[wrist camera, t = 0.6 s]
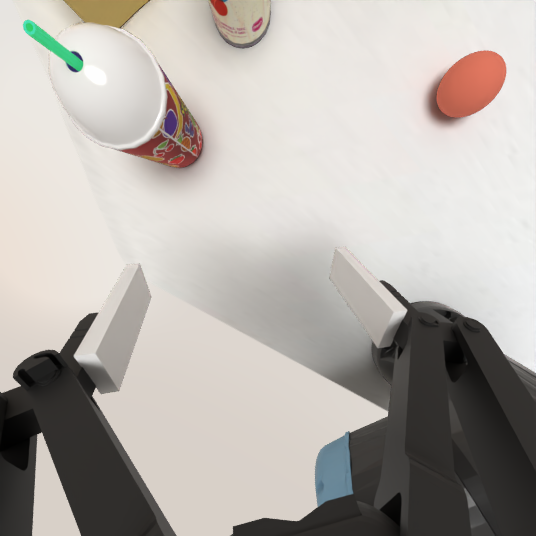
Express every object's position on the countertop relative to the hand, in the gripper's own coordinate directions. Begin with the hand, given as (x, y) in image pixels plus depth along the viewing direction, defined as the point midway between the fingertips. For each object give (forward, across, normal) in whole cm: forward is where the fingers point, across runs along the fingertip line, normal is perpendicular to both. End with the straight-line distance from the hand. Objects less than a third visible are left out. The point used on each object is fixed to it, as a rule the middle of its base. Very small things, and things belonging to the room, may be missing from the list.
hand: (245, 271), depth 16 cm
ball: (+16, -28, -12) cm, 34 cm away
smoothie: (+24, +6, -6) cm, 25 cm away
